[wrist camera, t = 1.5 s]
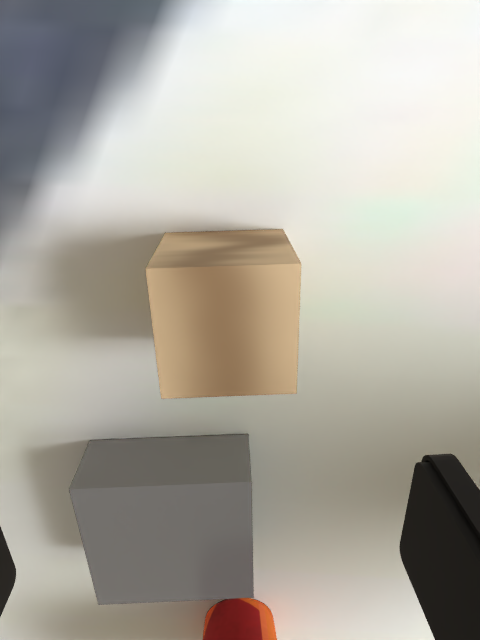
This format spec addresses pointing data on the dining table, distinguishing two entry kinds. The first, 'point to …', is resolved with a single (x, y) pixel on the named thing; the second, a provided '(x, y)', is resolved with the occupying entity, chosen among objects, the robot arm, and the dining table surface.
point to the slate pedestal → (166, 518)
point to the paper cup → (239, 621)
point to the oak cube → (225, 313)
